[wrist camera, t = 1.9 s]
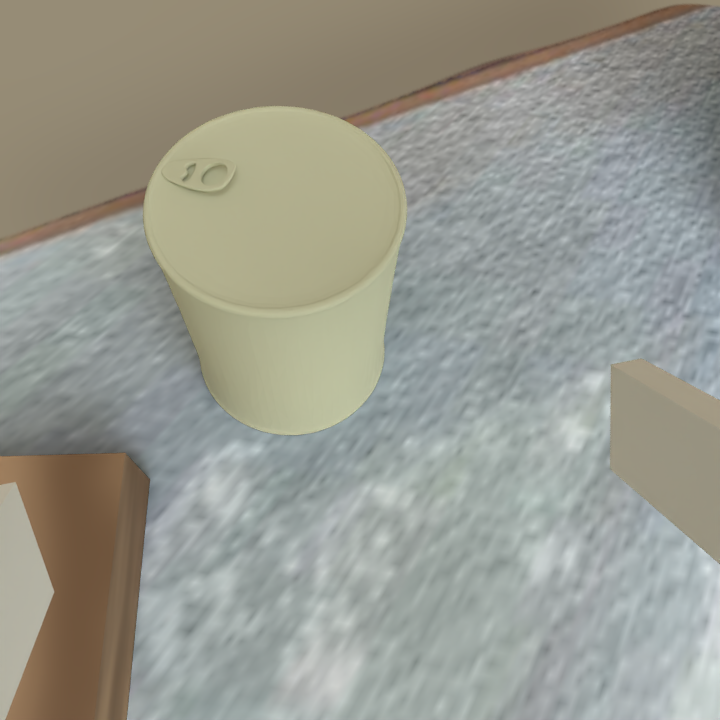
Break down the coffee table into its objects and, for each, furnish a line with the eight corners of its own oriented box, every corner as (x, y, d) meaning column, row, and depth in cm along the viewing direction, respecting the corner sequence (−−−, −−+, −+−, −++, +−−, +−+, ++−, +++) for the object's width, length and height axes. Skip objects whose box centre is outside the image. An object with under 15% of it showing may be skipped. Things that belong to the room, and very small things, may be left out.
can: (241, 253, 35) (202, 68, 24) (404, 299, 34) (439, 129, 24) (170, 403, 31) (86, 262, 21) (352, 460, 31) (365, 344, 20)
